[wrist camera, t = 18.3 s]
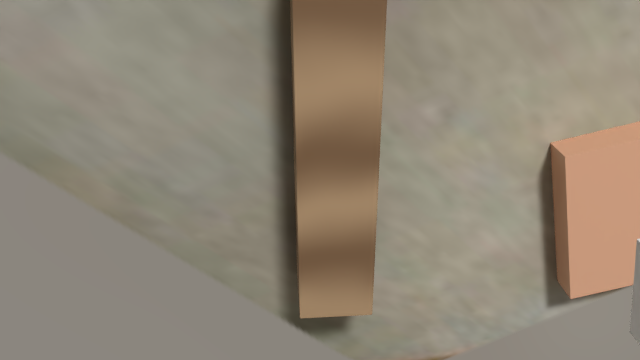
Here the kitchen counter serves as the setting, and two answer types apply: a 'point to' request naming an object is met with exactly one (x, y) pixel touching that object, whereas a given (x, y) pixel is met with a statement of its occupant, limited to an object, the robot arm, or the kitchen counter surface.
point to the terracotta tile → (596, 209)
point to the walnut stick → (336, 150)
